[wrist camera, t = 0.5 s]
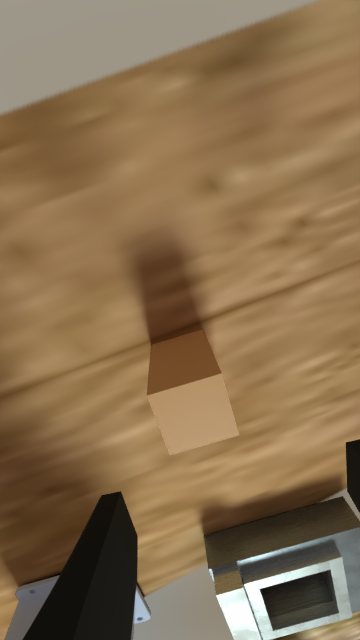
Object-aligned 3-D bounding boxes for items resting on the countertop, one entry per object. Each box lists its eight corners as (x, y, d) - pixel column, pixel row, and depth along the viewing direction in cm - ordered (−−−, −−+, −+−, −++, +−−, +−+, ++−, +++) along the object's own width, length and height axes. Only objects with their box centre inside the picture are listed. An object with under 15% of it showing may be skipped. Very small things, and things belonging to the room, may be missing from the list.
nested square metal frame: (231, 607, 27) (242, 667, 23) (203, 535, 24) (211, 591, 20) (354, 573, 27) (385, 628, 23) (342, 496, 24) (376, 545, 20)
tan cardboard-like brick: (167, 389, 20) (169, 455, 14) (151, 344, 18) (146, 395, 13) (216, 375, 19) (239, 435, 14) (202, 329, 18) (221, 373, 13)
